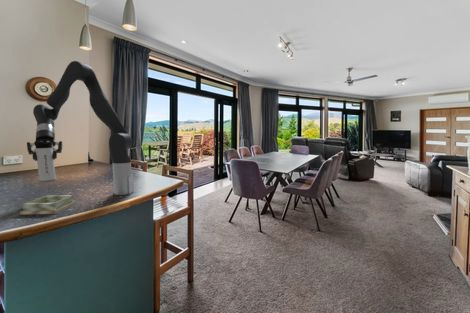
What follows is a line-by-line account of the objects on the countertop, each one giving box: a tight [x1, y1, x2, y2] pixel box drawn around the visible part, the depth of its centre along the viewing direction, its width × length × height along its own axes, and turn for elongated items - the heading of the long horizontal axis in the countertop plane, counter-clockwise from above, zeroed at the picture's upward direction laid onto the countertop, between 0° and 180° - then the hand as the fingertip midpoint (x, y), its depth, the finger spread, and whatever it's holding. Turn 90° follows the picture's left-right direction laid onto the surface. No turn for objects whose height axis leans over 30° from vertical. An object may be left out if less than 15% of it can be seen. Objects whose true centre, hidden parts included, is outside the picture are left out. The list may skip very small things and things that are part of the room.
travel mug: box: [34, 140, 57, 184], centre depth 111 cm, size 6×7×20 cm
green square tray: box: [19, 194, 77, 216], centre depth 102 cm, size 14×14×4 cm
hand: (45, 159), depth 109 cm, fingers closed on travel mug, 6 cm apart
